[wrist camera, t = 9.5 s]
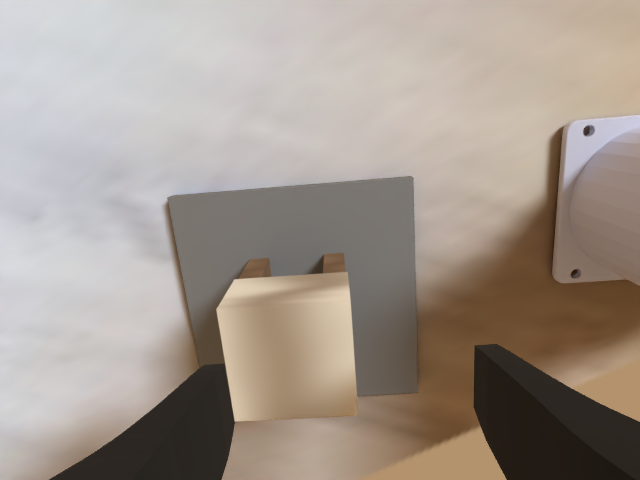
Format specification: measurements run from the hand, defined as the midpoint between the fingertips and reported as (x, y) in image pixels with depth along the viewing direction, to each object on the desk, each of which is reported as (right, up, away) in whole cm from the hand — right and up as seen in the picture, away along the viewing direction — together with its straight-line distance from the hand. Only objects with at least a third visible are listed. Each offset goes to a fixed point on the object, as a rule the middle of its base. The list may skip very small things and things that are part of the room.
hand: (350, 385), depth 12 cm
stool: (-2, +1, +10) cm, 10 cm away
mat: (-2, +1, +11) cm, 11 cm away
